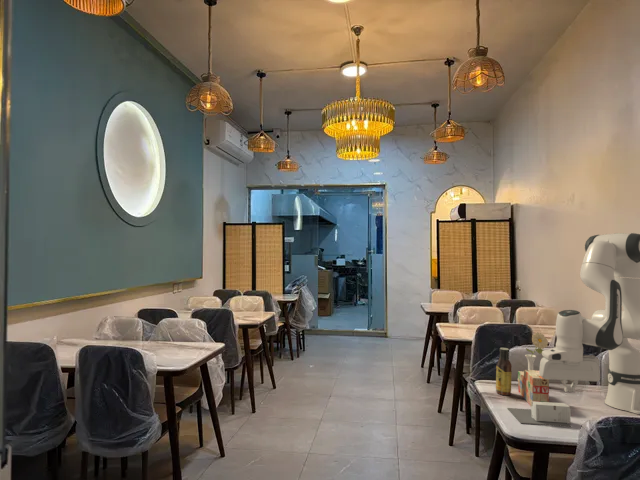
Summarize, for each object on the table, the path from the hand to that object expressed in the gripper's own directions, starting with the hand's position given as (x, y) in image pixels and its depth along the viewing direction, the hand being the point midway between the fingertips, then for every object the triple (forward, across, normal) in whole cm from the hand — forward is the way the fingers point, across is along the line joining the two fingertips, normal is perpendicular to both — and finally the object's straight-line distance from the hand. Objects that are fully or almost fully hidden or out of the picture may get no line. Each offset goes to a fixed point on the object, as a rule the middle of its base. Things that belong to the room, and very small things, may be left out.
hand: (569, 391), depth 157 cm
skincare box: (+7, +1, +2) cm, 7 cm away
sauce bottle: (+11, +15, -28) cm, 33 cm away
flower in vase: (+11, -3, -44) cm, 46 cm away
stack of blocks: (+11, +5, -22) cm, 25 cm away
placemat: (+10, +11, -1) cm, 15 cm away
